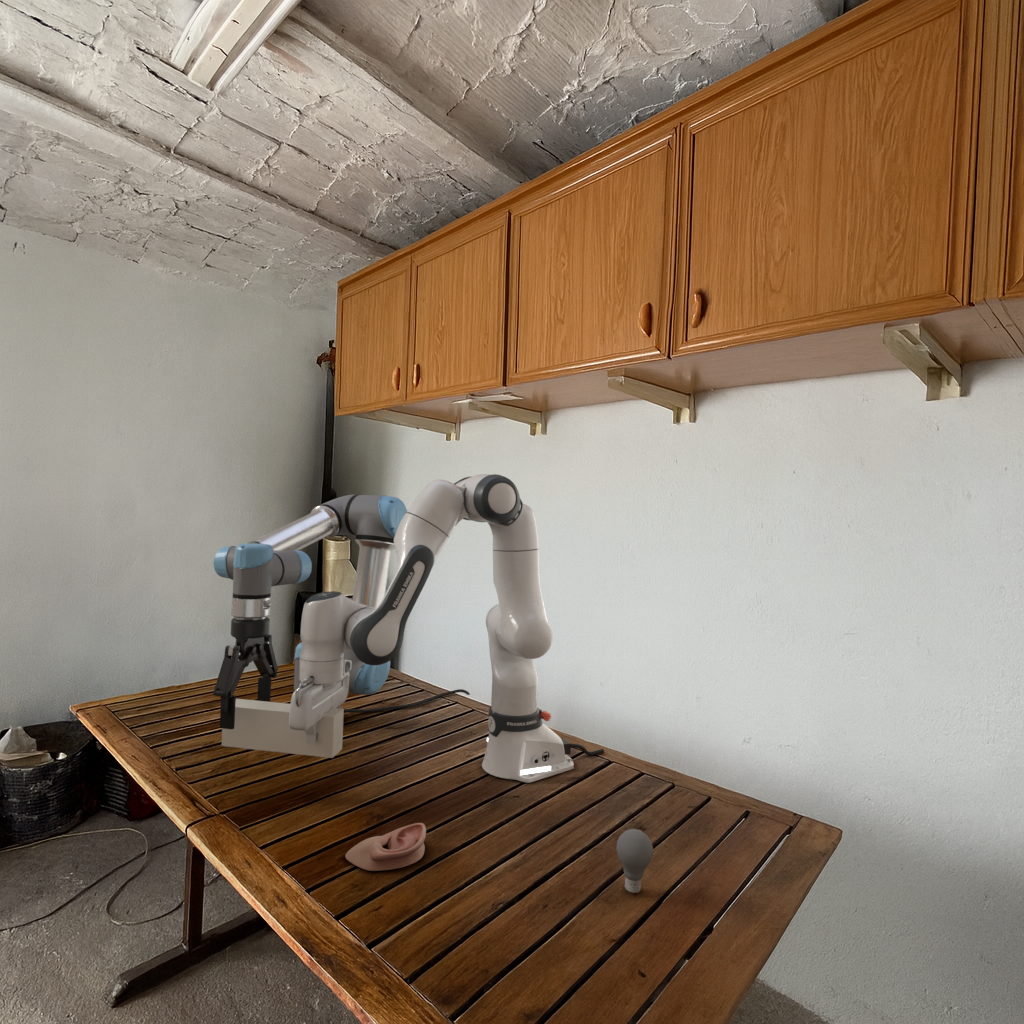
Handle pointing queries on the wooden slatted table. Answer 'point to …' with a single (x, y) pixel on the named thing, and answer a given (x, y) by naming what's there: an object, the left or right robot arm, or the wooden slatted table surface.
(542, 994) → the wooden slatted table surface
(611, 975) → the wooden slatted table surface
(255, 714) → the bar
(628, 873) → the light bulb
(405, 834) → the anatomical model
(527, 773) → the right robot arm
